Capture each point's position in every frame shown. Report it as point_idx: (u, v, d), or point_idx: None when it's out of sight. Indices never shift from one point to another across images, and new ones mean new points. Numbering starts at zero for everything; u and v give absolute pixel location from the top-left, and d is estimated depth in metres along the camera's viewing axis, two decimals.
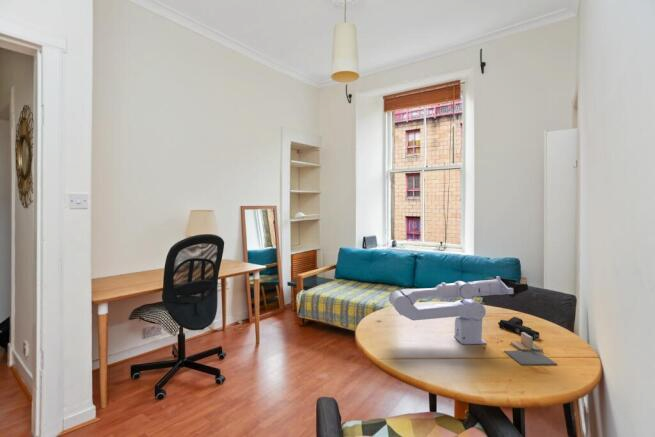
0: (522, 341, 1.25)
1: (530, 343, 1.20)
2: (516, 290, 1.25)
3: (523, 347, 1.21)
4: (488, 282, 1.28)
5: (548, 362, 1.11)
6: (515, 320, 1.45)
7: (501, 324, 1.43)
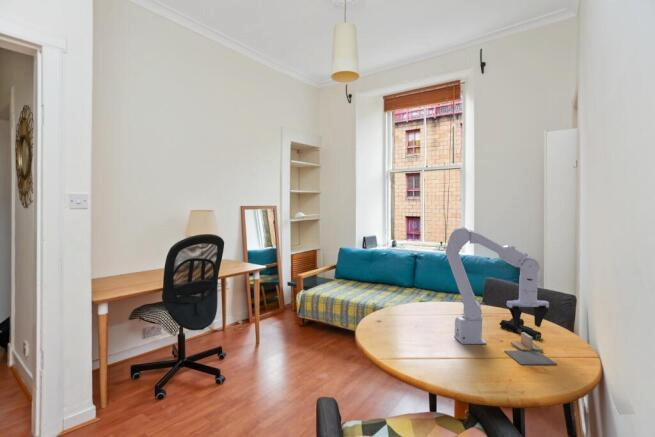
0: (522, 341, 1.25)
1: (530, 343, 1.20)
2: (514, 313, 1.23)
3: (523, 347, 1.21)
4: (528, 291, 1.20)
5: (548, 362, 1.11)
6: None
7: (502, 324, 1.42)
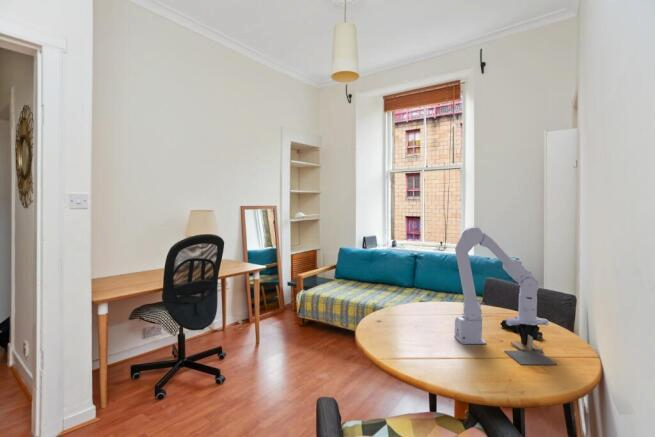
0: None
1: (530, 343, 1.20)
2: (521, 331, 1.24)
3: (523, 347, 1.21)
4: (527, 310, 1.20)
5: (548, 362, 1.11)
6: None
7: (503, 324, 1.42)
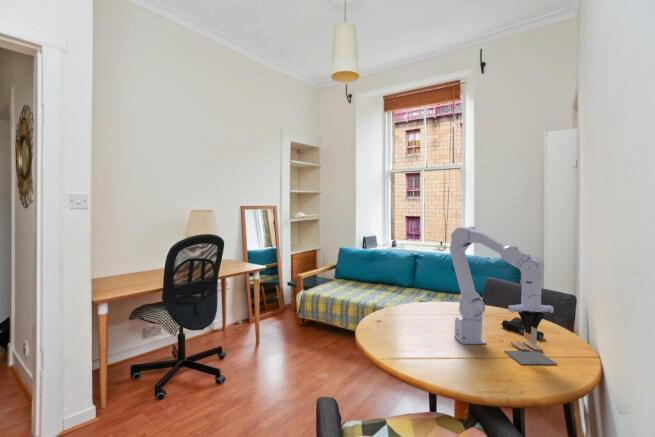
0: (525, 333, 1.16)
1: (534, 335, 1.12)
2: (525, 318, 1.15)
3: (523, 347, 1.21)
4: (531, 295, 1.12)
5: (548, 362, 1.11)
6: (518, 320, 1.44)
7: (504, 325, 1.42)
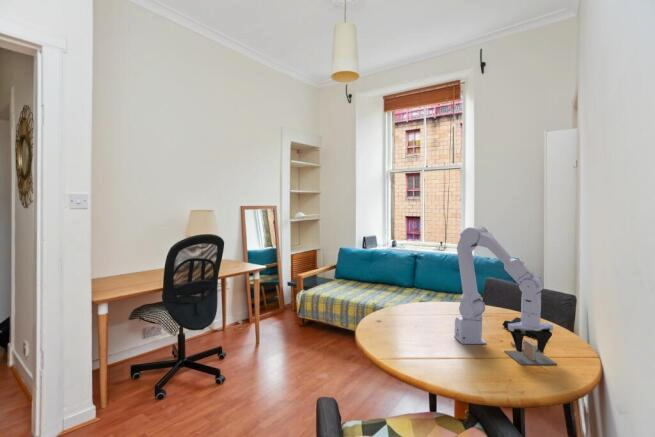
0: (525, 349, 1.16)
1: (533, 352, 1.12)
2: (516, 337, 1.15)
3: (523, 347, 1.21)
4: (530, 314, 1.12)
5: (548, 362, 1.11)
6: (519, 321, 1.44)
7: (506, 325, 1.42)
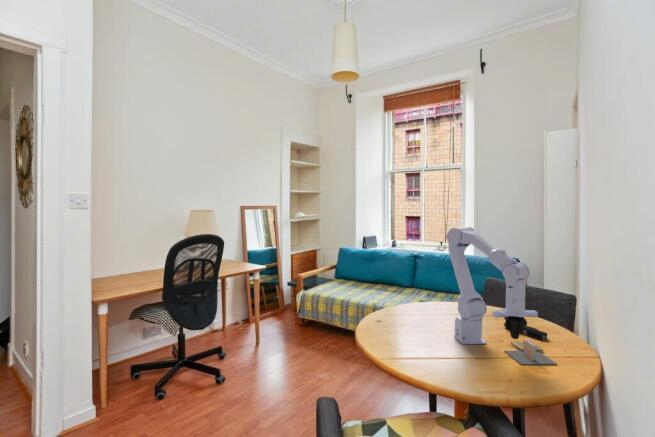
0: (525, 349, 1.16)
1: (533, 352, 1.12)
2: (510, 324, 1.15)
3: (523, 347, 1.21)
4: (515, 300, 1.12)
5: (548, 362, 1.11)
6: None
7: (507, 325, 1.41)
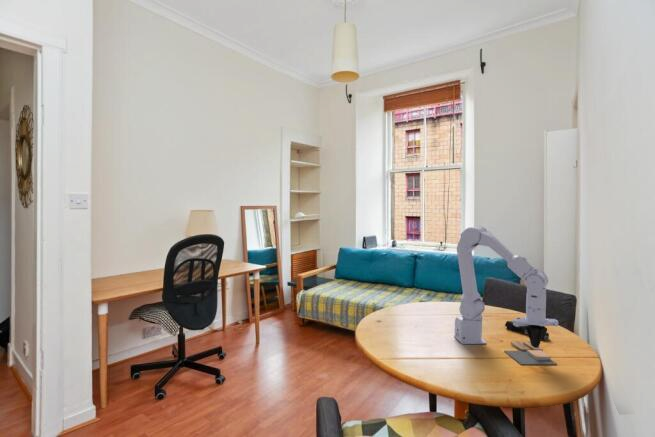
0: (534, 351, 1.16)
1: (544, 357, 1.12)
2: (531, 332, 1.15)
3: (523, 347, 1.21)
4: (536, 309, 1.12)
5: (548, 362, 1.11)
6: None
7: (508, 326, 1.41)
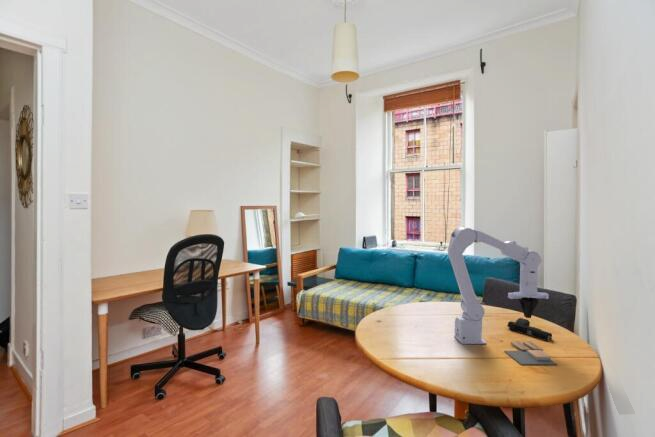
0: (534, 351, 1.16)
1: (544, 357, 1.12)
2: (524, 304, 1.28)
3: (523, 347, 1.21)
4: (528, 283, 1.24)
5: (548, 362, 1.11)
6: (523, 321, 1.43)
7: (511, 326, 1.40)
